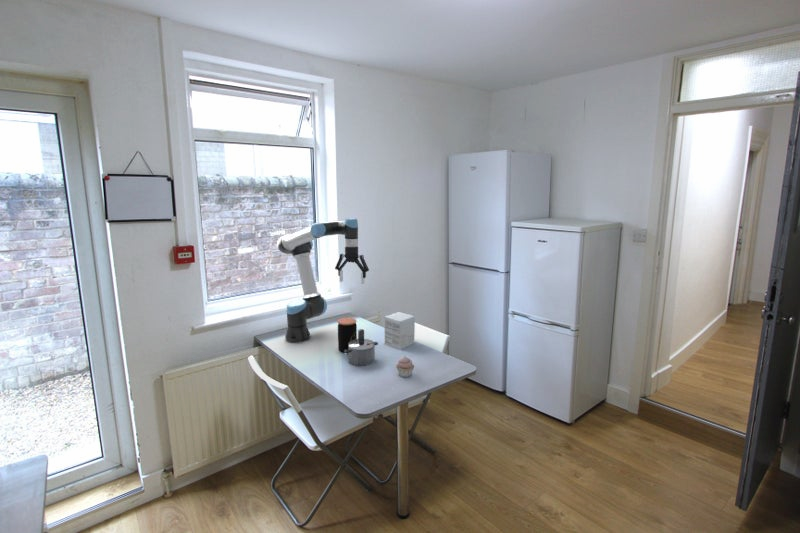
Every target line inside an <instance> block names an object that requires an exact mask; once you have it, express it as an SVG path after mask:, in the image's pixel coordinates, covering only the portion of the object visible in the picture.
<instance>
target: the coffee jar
mask: <svg viewBox="0 0 800 533" xmlns="http://www.w3.org/2000/svg"><path fill="white" fill-rule="evenodd" d="M355 339H358V327H357V319H356V318H353V317H342V318H339V319H338V320H337V348H338V351H339V352H340V353H342V354H345V353H344V350H346V349H348V343H349V342H350V341H352V340H355Z"/></svg>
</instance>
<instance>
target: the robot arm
mask: <svg viewBox="0 0 800 533" xmlns="http://www.w3.org/2000/svg"><path fill="white" fill-rule="evenodd" d="M336 235H343V236H344V253H340V254H339V258H338V261H337V262H336V265H335V267H334V269H335V270H336V271H338V272H337V273H338V274H337V275H338V277H339V282H340V283H342V282H344V270H343V268H344V267H345V266H346V265H347V263H353V264H356V265H357V267H358V268H359V269H360V270H361V274H360V275H361V276H360V277H361V280H360V281H361V285H364V284H365V279H366V277H367V272H369V271H370V269H369V267H368V264H367V262H366V260H365V258H364V257H365V256H364V254H359V222H358V219H357V218H351V217H350V218H344V220H342V221H339V220H330V221H327V222H315V223H313V224H311V226H310V227H307V228H305V229H302V230H299V231H296V232H295V233H292V234H284V235H283V236H281V237H279V238H278V240H277V242H276V246H277V249H278V250H279V252H280V253H282V254H284V255H291V256H292V257H293V259H295V262H296V265H297V270H298V273H299V279H300V282H301V288H302V291H303V297H302V299H295V300H292V301H290V302H288V303H287V305H286V318H287V319H286V323H287V328H286V332H285V334H284V340H285V342H288V343H295V344H297V343H304V342H306V341H308V340H310V339H311V332H310V330H309V328H308V327H309V326H308V320H310V319H313V318H316V317H320V316H323V315H324V314H326V311H327V308H328V304H327V303H328V302H327V300H326V299H325V297H323V296H322V295H321V293H320V292H318V288H317V284H316V279H315V274H314V271H313V267H312V262H311V258H310V255H311V253H312V252H311V251H312V249H313V247H314V243H313V241H315V240H317V239H320V238H323V237H326V236H336ZM344 258H345V259H344ZM359 259H360V260H359ZM342 261H343V262H342Z"/></svg>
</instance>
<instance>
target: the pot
mask: <svg viewBox="0 0 800 533" xmlns="http://www.w3.org/2000/svg"><path fill="white" fill-rule="evenodd" d="M373 342H374V347H373V348H371V349H368V350H361V351H360V350H353V349H350V348H349V347H348V349H346V350H344V353H343V354H348V364H349V365H351V366H353V367H367V366H371V365H373V364H374V363H375V362H376V361H375V360H376V358H375V357H376V356H375V353H376V352H375V350H376V348H375V346H378V345H379V342H378V341H373Z"/></svg>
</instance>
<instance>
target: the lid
mask: <svg viewBox="0 0 800 533" xmlns="http://www.w3.org/2000/svg"><path fill="white" fill-rule="evenodd" d="M374 342H375V341H373V340H372V339H369V338H365V330H364V329H361V328H360V329H357V339H355V340H352V341H350V342H349V343H348V347H349V348H350V349H353V350H360V351H361V350H368V349H371V348H373V347H374Z"/></svg>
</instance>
